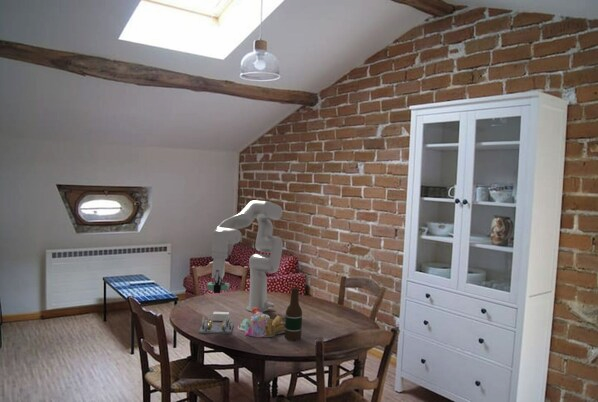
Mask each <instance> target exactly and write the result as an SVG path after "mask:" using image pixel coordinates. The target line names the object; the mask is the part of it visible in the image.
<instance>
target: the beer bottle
mask: <svg viewBox="0 0 598 402" xmlns="http://www.w3.org/2000/svg"><path fill="white" fill-rule="evenodd" d="M290 290H291V291H290V300H289V301H290V302H289V305H288V307H287V308H286V310H285V321H284V323H285V332H284V338H285V339H286V340H287V341H291V340H292V341H291V342H294V341H299V340H300V339H302V328H303V310H302V307H301V306H300V302H299V291H300V288H299V287H296V286H292V287H291V289H290Z"/></svg>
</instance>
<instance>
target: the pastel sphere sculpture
mask: <svg viewBox="0 0 598 402" xmlns="http://www.w3.org/2000/svg"><path fill="white" fill-rule="evenodd" d="M251 314H252V315H251V316H250V319H249V318H244V319H243V320H242V321H241V323H240V322H238V325H237V330H238V331H240V332H244V334H245V335H246V336H249V337H250V336H251V337H252V338H262V337H263V338H273V337H275V336H276V335H280V334H285V324H284V322H283V319H284V318H283V317H282V316H280V315H278V314H277V315H276V317H275V318H274V319H273V318H271V317H270V316H269V314H266V313H264V312H260V310H259V308H258V307H254V308H253V309H252V311H251Z"/></svg>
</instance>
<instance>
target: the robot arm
mask: <svg viewBox="0 0 598 402" xmlns="http://www.w3.org/2000/svg"><path fill="white" fill-rule="evenodd" d="M282 216H283V209H282V207H281V206H280V205H279V204H278V203H277V204H276V203H274V202H270V201H267V200H258V199H256V200H250V201H248V203H247V204H246V205H245V206H244V208H242V209H241V211H239V212H238V213H237V214H235V215H232V216H231V217H229V218H226V219H224V220H223V221H221V223H220V224H219V225H218V226H217V227H216V228H215V229H214V230H213V233H212V248H211V250H212V251H211V258H212V259H213V260H212V271H211V279H214V281H213V282H214V290H213V293H214V294H221V291H222V290H221V285H220V282H223V280H224V279H223V278H224V276H225V267H226V259H228V251H229V245H230V244H232V245H235V244H238V243H239V242H240V241H241V240H242V236H243V235H242V232H241V231H240V230H239V229H242V228H243V229H244V228H247V227H250V226H251V224H252V223H253V221H255V219H256V220H257V224H258V225H257V226H258V230H257V233H256V234H257V235H256V240H255V249H256V251H258V252H261V253H253V254H252V255H251V256H250V257H249V261H248V266H249V270H250V271H249V272H250V273H249V274H250V277H249V278H250V279H249V299H248V302H249V303H248V304H247V306H246V310H247V311H248V312H252V309H253V308H254V307H258V308H259V310H260V312H263V313H265V312H267V311H269V309H270V308H274V306H275V303H272V302H268V300H267V292H268V290H267V289H268V277H267V274H266V273H270V274H273V273H277V272H278V270H279V268H280V263H281V258H282V254H283V249H284V248H283V247H284V244H283V240H282V239H281V238H280V237H279V236H275V235H274V236H273V232H274V226H273V223H272V221H271V220H273V221H279V220H280V219H281V218H282ZM264 253H267V254H264ZM268 253H269V254H268Z"/></svg>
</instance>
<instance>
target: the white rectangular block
mask: <svg viewBox="0 0 598 402" xmlns="http://www.w3.org/2000/svg"><path fill="white" fill-rule="evenodd" d="M212 312H213V313H212V322H223V321H224V320H226V315H227V314H228V321H229V318H230V312H228V311H212Z"/></svg>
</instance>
